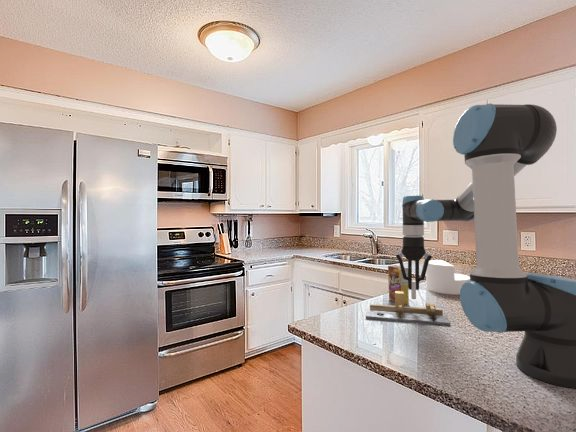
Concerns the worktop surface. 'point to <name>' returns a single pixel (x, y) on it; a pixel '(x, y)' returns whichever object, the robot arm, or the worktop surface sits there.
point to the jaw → (399, 301)
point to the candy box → (397, 282)
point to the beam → (409, 309)
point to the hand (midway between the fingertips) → (413, 298)
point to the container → (444, 278)
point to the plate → (408, 317)
